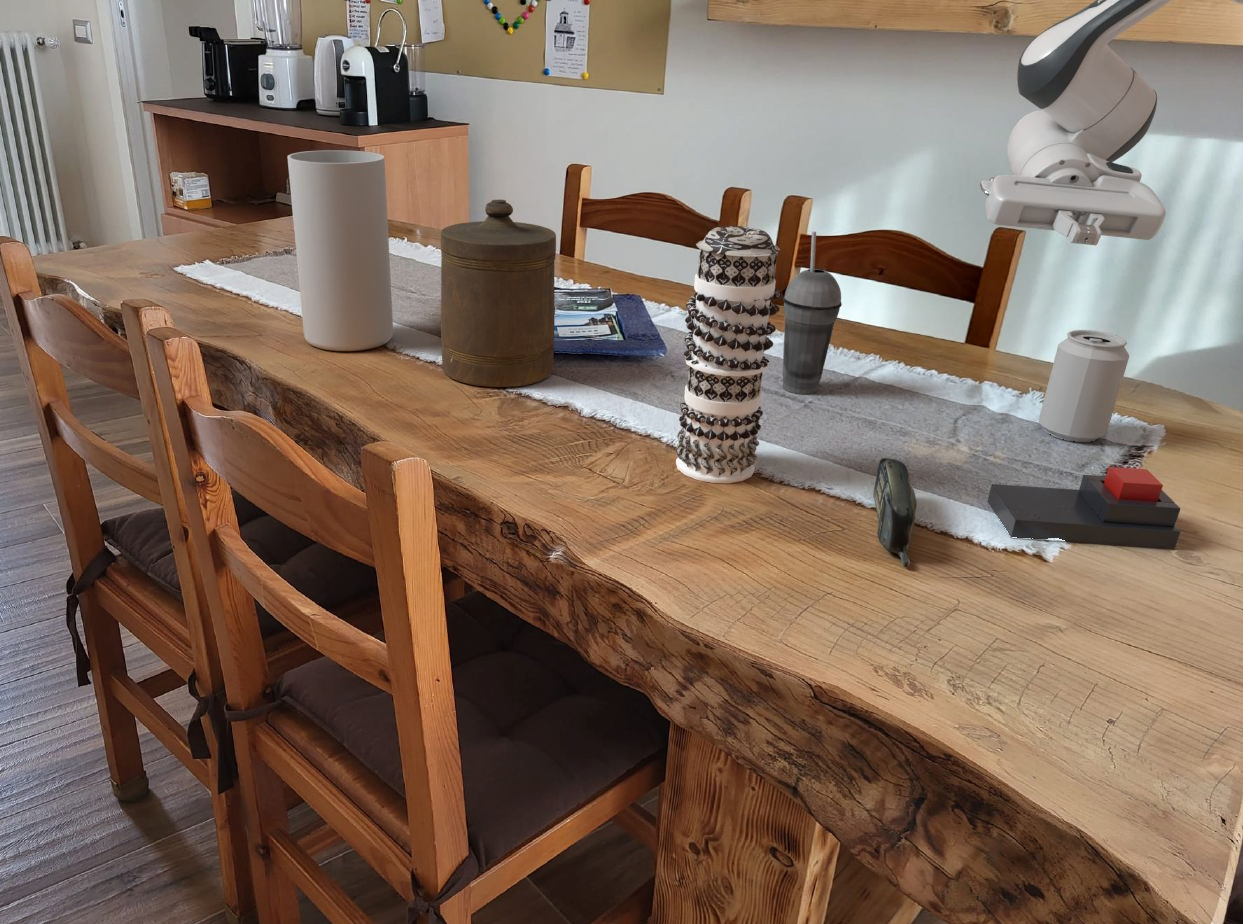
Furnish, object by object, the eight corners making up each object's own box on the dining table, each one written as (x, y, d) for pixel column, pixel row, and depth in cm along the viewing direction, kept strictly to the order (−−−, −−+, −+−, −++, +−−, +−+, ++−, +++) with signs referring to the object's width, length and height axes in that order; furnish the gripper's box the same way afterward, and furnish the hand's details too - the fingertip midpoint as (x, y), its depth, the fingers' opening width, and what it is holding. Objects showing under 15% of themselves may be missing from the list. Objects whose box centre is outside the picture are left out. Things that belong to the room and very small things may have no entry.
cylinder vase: (286, 344, 139) (267, 158, 128) (338, 322, 150) (325, 147, 138) (361, 358, 135) (348, 166, 124) (410, 334, 145) (402, 155, 134)
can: (1107, 429, 120) (1135, 334, 115) (1101, 450, 114) (1131, 350, 109) (1041, 416, 124) (1066, 322, 118) (1032, 435, 118) (1058, 337, 112)
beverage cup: (804, 402, 125) (827, 242, 116) (760, 385, 130) (779, 231, 121) (839, 390, 130) (864, 235, 121) (795, 375, 135) (816, 225, 126)
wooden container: (560, 356, 138) (565, 193, 129) (543, 392, 125) (547, 214, 115) (457, 348, 140) (453, 187, 130) (429, 383, 127) (423, 207, 117)
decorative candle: (772, 482, 104) (805, 240, 93) (687, 487, 102) (711, 241, 91) (740, 447, 112) (767, 221, 100) (661, 452, 110) (680, 221, 99)
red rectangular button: (1140, 488, 97) (1147, 469, 96) (1156, 504, 94) (1163, 485, 93) (1102, 485, 97) (1108, 466, 96) (1117, 501, 94) (1123, 482, 93)
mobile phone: (876, 452, 100) (891, 515, 86) (907, 455, 99) (927, 519, 86) (867, 497, 102) (881, 566, 88) (898, 500, 101) (916, 570, 88)
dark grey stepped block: (1138, 511, 100) (1150, 475, 98) (1174, 550, 93) (1187, 512, 91) (987, 501, 101) (995, 465, 100) (1010, 538, 94) (1020, 500, 92)
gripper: (985, 154, 125) (1005, 204, 115) (1152, 170, 124) (1187, 222, 114) (969, 201, 129) (987, 253, 119) (1130, 217, 128) (1162, 271, 118)
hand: (1086, 238), depth 116 cm, fingers closed
